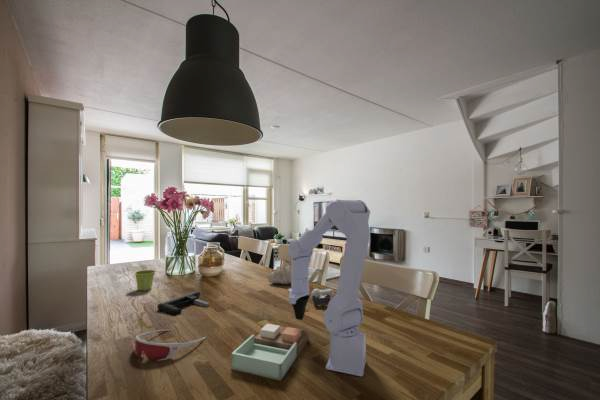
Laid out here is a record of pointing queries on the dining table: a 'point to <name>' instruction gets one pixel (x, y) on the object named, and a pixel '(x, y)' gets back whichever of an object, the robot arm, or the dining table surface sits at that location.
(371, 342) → the dining table surface
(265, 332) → the white tile
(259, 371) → the green bin
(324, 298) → the clip-on lamp
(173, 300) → the door handle
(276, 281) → the seashell
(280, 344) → the walnut plate
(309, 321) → the dining table surface
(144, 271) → the plant pot
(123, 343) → the dining table surface
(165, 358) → the sunglasses
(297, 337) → the terracotta tile
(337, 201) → the robot arm
